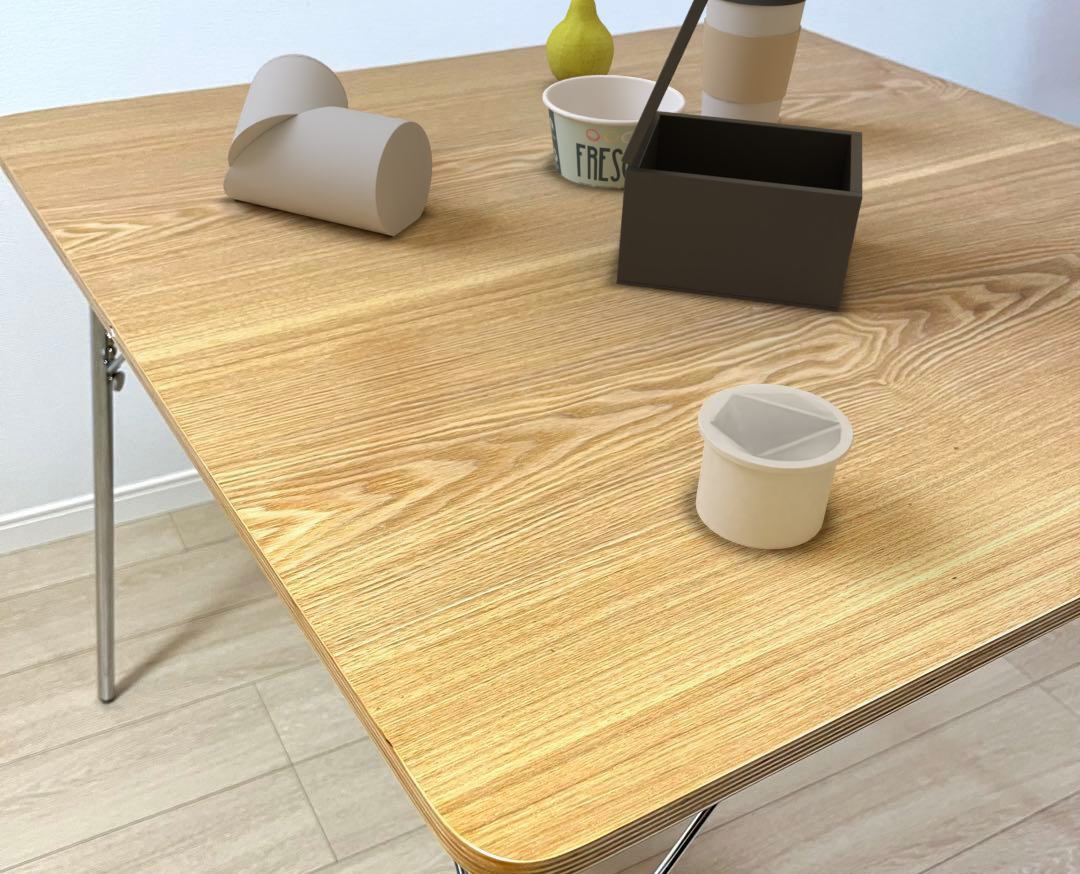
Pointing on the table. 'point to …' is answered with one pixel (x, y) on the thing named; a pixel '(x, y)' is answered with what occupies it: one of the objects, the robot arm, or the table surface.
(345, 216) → the elbow connector
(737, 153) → the open brown storage bin
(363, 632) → the table surface
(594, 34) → the fruit
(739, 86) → the coffee cup
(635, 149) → the lid
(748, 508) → the white short cylinder
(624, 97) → the food container
